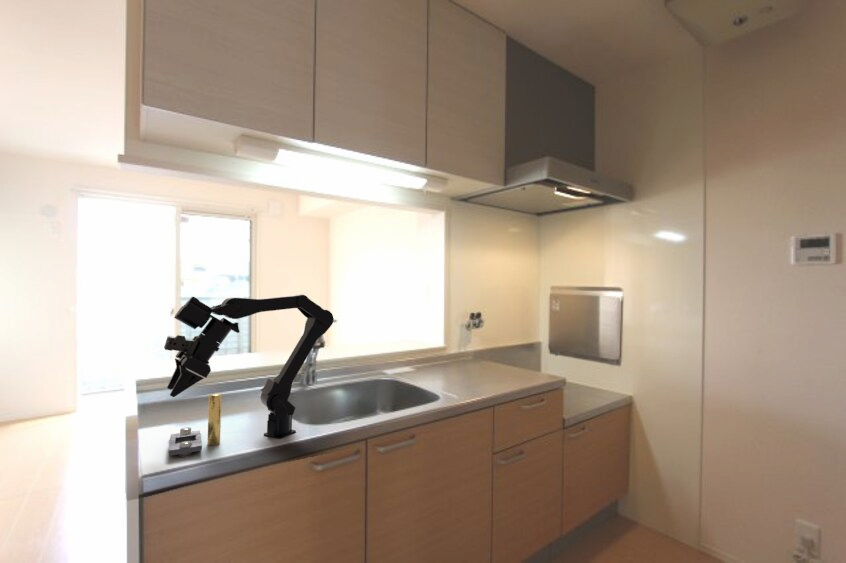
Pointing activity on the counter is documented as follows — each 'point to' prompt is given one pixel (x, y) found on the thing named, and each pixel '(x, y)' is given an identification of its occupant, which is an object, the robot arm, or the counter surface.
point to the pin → (214, 419)
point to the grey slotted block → (185, 442)
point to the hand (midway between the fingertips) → (170, 392)
